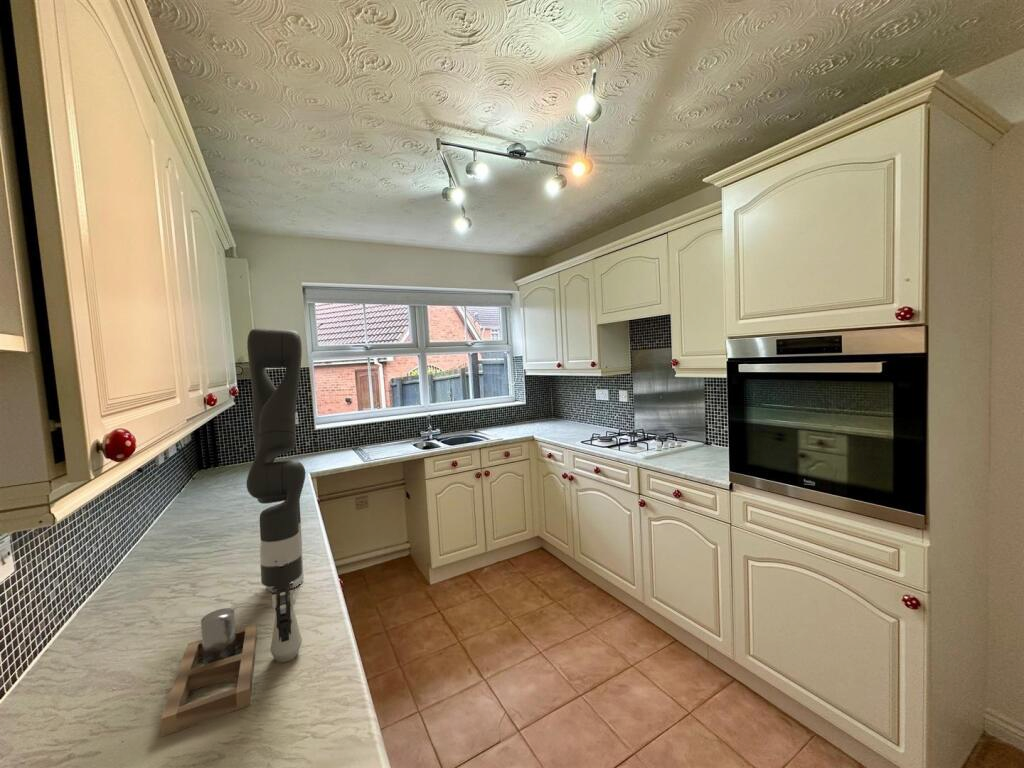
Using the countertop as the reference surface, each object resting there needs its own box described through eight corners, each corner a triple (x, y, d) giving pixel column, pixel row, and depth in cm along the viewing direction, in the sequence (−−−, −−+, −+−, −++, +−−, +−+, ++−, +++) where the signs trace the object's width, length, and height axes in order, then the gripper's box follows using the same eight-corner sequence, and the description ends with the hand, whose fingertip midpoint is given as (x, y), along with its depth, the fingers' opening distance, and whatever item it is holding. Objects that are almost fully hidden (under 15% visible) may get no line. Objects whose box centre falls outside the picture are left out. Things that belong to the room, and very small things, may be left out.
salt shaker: (295, 643, 91) (292, 585, 90) (307, 653, 87) (304, 593, 87) (266, 658, 86) (263, 597, 86) (277, 670, 83) (274, 606, 82)
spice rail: (188, 657, 87) (187, 643, 87) (257, 637, 93) (256, 624, 93) (162, 736, 68) (160, 718, 68) (250, 704, 74) (249, 688, 74)
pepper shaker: (206, 659, 86) (203, 613, 86) (238, 650, 89) (235, 605, 89) (201, 676, 81) (198, 627, 81) (235, 666, 84) (232, 618, 84)
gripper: (261, 548, 90) (265, 625, 91) (258, 575, 78) (263, 663, 79) (300, 540, 94) (303, 614, 94) (302, 564, 82) (306, 649, 82)
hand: (285, 636), depth 87 cm, fingers closed on salt shaker, 3 cm apart
